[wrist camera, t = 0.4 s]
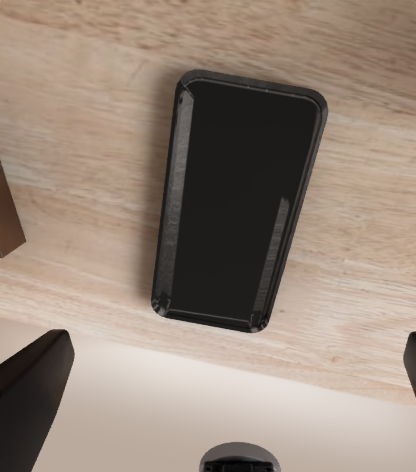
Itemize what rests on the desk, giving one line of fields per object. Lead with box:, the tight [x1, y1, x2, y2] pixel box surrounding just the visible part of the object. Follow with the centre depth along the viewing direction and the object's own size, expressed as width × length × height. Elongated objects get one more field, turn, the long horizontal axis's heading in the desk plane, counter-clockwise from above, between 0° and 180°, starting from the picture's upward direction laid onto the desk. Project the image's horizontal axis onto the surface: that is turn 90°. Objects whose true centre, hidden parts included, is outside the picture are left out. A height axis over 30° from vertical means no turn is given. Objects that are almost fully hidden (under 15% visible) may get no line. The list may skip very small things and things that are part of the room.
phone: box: [151, 70, 328, 333], centre depth 20 cm, size 8×1×15 cm
